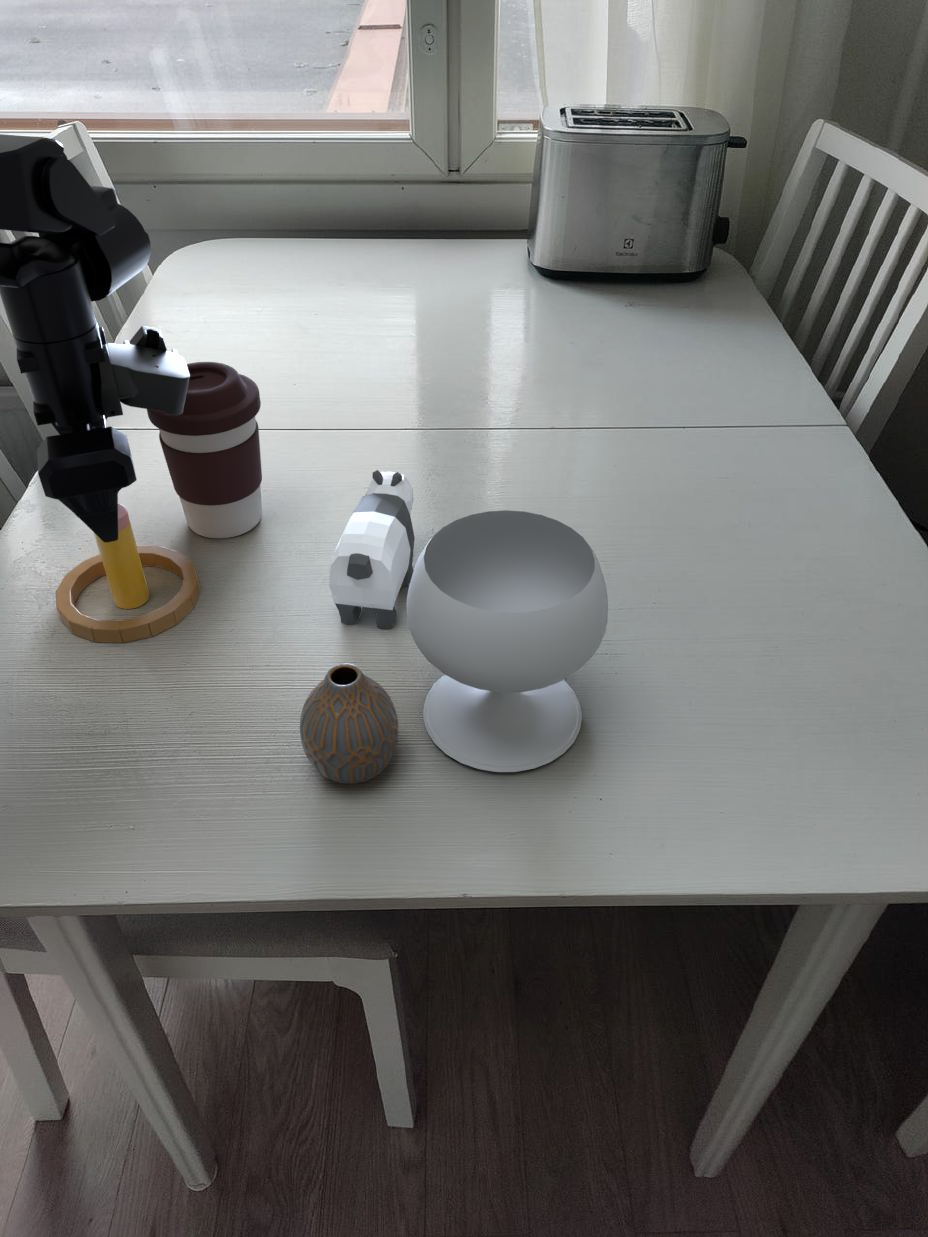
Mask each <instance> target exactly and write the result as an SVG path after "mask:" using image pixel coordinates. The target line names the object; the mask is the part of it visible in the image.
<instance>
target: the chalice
mask: <svg viewBox="0 0 928 1237" xmlns="http://www.w3.org/2000/svg"><path fill="white" fill-rule="evenodd" d="M406 616H407V625H408V626H407V627H408V630H409V632H410V635H411V637H412V640H413V642H414V644H415V645H416V647H417V649H418V650H419V652H420V653H421V654H422V655H423V657H424V658H425V659H426V661H428V663H430V665H432V666H433V667H435V668H436V669H437V670H438V671H440V672H441V673H442V674H443V675H442V676H441V677H439V679H438V680H436V681H435V682H434V683H433V685H432V686H431V688H430V689H429V691H428V692H427V694H426V697H425V699H424V700H425V701H424V703H423V706H422V708H423V712H422V716H423V717H422V719H423V723H424V726H425V729H426V732H427V734H428V735H429V737H430V738H431V740H432V741H433V743H434V744H435V745H436V746H437V748H439V749H440V750H441V751H442V752H443V753H444V754H445V755H447V756H449V757H450V758H452V759H454V760H455V761H457V762H459V763H460V764H463V765H465V766H468V767H471V768H475V769H477V770H482V771H487V772H494V773H495V772H496V773H518V772H523V771H528V770H532V769H536V768H539V767H541V766H542V767H543V766H544V765H547V764H549V763H552V762H553V761H554V760H556V759H558V758H559V757H560V756H562V755H564V754H565V753H566V752H567V751H568V750H569V748H570V747H571V746H572V745H573V744H574V743H575V742H576V739H577V737H578V735H579V733H580V731H581V727H582V720H583V714H582V707H581V703H580V701H579V699H578V697H577V695H576V693H575V691H574V689H572V688H571V686H569V684H568V683H567V681H566V679H568V678H569V677H571V676H572V675H573V674H575V673H577V672H578V671H580V670H581V669H583V667H584V666H586V664H587V663H588V662H590V660H591V659H592V658H593V657H594V656H595V654H596V652H597V651H598V649H599V648H600V646H601V643H602V642H603V639H604V637H605V634H606V632H607V631H606V630H607V626H608V617H609V597H608V590H607V583H606V580H605V577H604V574H603V570H602V567H601V564H600V562H599V559H598V557H597V555H596V553H595V551H594V550H593V548H592V547H591V545H590V544H589V543H588V541H587V540H586V539H585V538H584V537H583V536H582V535H581V534H580V533H579V532H577V531H576V530H574V528H572V527H570V526H569V525H566V524H564V523H563V522H561V521H559V520H557V519H555V518H551V517H548V516H546V515H543V514H538V513H534V512H530V511H520V510H507V509H505V510H491V511H483V512H479V513H473V514H471V515H467V516H464V517H461V518H458V519H456V520H453V521H452V522H450V523H448V524H447V525H444V526H443V527H441V529H439V530H438V531H437V532H436V533H435V534H434V535H433V536H432V537H431V538H430V539H429V540H428V542H427V544H425V547H424V548H423V550H422V551H421V553H420V554H419V556H418V558H417V560H416V562H415V565H414V568H413V575H412V578H411V581H410V584H409V585H408V590H407V596H406Z"/></svg>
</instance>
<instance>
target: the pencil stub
mask: <svg viewBox="0 0 928 1237" xmlns="http://www.w3.org/2000/svg"><path fill="white" fill-rule="evenodd" d="M93 535H94V538H95V542H96V545H97V548H98V552H99V554H100V555H101V559H102V562H103V566H104V569H105V572H106V574H105V576H106V579H107V583H108V586H109V589H110V592H111V596H112V599H113V601H114V604H115V606H117V607H118V608H120V609H125V610H132V609H136V608H139V607H141V606H143V605H145V604H146V603H147V602H148V600H149V599H150V591H149V588H148V584H147V580H146V576H145V572H144V568H143V566H142V565H141V561H140V557H139V553H138V549H137V546H138V545H137V542H136V538H135V535H134V531H133V527H132V522H131V519H130V516H129V512H128V509H127V507H126V506H125V505H123V504H120V503H118V540H117V541H112V542H107V543H106V542H103V541H102V540H101V539H100V538H99V537H98V536H97V535H96V534H95V533H94V532H93Z"/></svg>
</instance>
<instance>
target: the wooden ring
mask: <svg viewBox="0 0 928 1237" xmlns="http://www.w3.org/2000/svg"><path fill="white" fill-rule="evenodd" d="M136 546H137V549H138V553H139V557H140V561H141V565H142V567H156V568H160V569H163V570H167V571H169V572H173V574H175V575H176V576H177V577H179V578H180V579H181V581H182V584H181V586H180V588H179V590H178V593H177V594H176V595H175V596H174V597H172V598H171V599H170V600H169V601H168V602H167V603H166V604H164V605H162V606H161V607H159V608H157V609H154V610H152V611H150V612H148V613H147V614H144V615H141V616H137V617H131V618H127V619H123V620H122V619H121V620H110V619H109V620H108V619H98V618H97V619H96V618H93V617H92V616H91V617H90V616H89V615H85V614H83V613H81V612H80V611H79V610H78V609H77V608H76V607H75V605H76V604H75V603H76V601H77V599H78V598H79V596H80V594H81V592H82V591H83V590H84V589H85V588H86V587H87V586H89V585H90V584H91V583H92V582H94V581H96V580H97V579H99V578H101V577H103V576H106V572H105V569H104V566H103V562H102V559H101V555H100V553H99V554H97V555H94V556H91V557H89V558H86V559H84V561H83V560H82V562H80V563H79V564H78V565H77V566H75V567H74V568H73V569H72V570H70V571H69V572H68V573H66V574H65V575H64V577H63V578H62V580H61V582H60V584H59V585H58V587H57V589H56V590H55V604H56V606H55V607H56V610H57V614H58V616H59V619H60V622H61V623H62V624H63V625H64V626H65V627H66V628H67V629H68V630H69V631H70V633H71V634H73V635H75V636H78V637H80V638H83V639H86V640H89V641H91V642H94V643H109V644H110V643H111V644H112V643H115V644H122V643H123V644H124V643H130V642H134V641H139V640H143V639H147V638H152V637H155V636H157V635H158V634H161V633H163V632H164V631H167V630H169V629H171V628H173V627H176V626H177V625H179V623H180V622H181V621H183V620H184V619H185V618H186V617H187V616H188V615H189V614H191V612H192V611H193V610H194V609H195V607H196V604H197V601H198V600H199V598H200V595H201V588H200V583H199V578H198V575H197V570H196V566H195V564H194V563H193V562H192V561H191V560H190V559H189V558H188V557H186V556H185V555H184V554H183V553H182V552H181V551H177V550H174V549H170V548H167V547H164V546H159V545H136Z"/></svg>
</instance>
